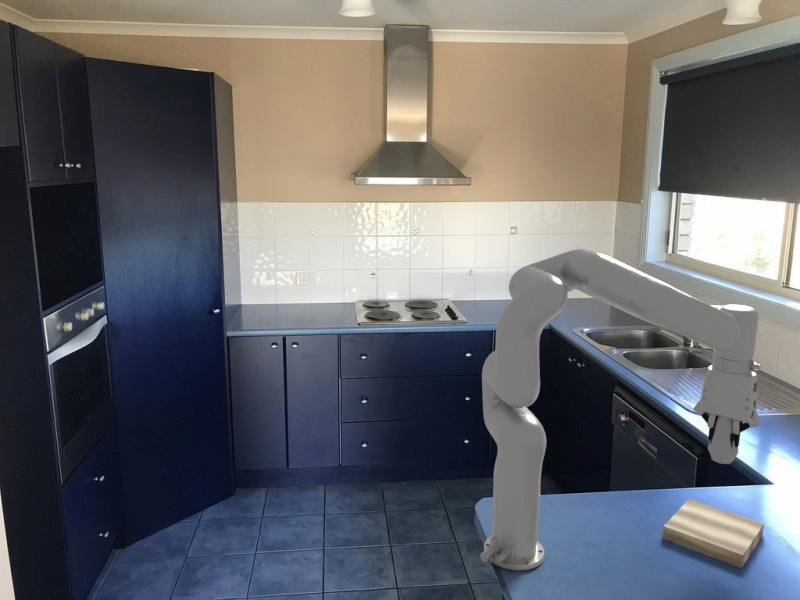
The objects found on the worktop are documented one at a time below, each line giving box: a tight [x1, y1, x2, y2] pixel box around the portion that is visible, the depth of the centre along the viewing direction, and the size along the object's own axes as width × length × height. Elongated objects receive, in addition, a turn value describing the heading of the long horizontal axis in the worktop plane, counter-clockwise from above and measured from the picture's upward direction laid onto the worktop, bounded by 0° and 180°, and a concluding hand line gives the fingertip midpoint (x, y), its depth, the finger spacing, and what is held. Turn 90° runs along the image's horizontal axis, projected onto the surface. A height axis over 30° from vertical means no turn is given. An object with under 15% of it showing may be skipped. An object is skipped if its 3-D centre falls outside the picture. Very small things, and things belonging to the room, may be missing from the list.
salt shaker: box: [707, 416, 739, 465], centre depth 138 cm, size 6×6×13 cm
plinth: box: [662, 498, 765, 569], centre depth 143 cm, size 16×16×3 cm
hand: (722, 446), depth 139 cm, fingers closed on salt shaker, 3 cm apart
